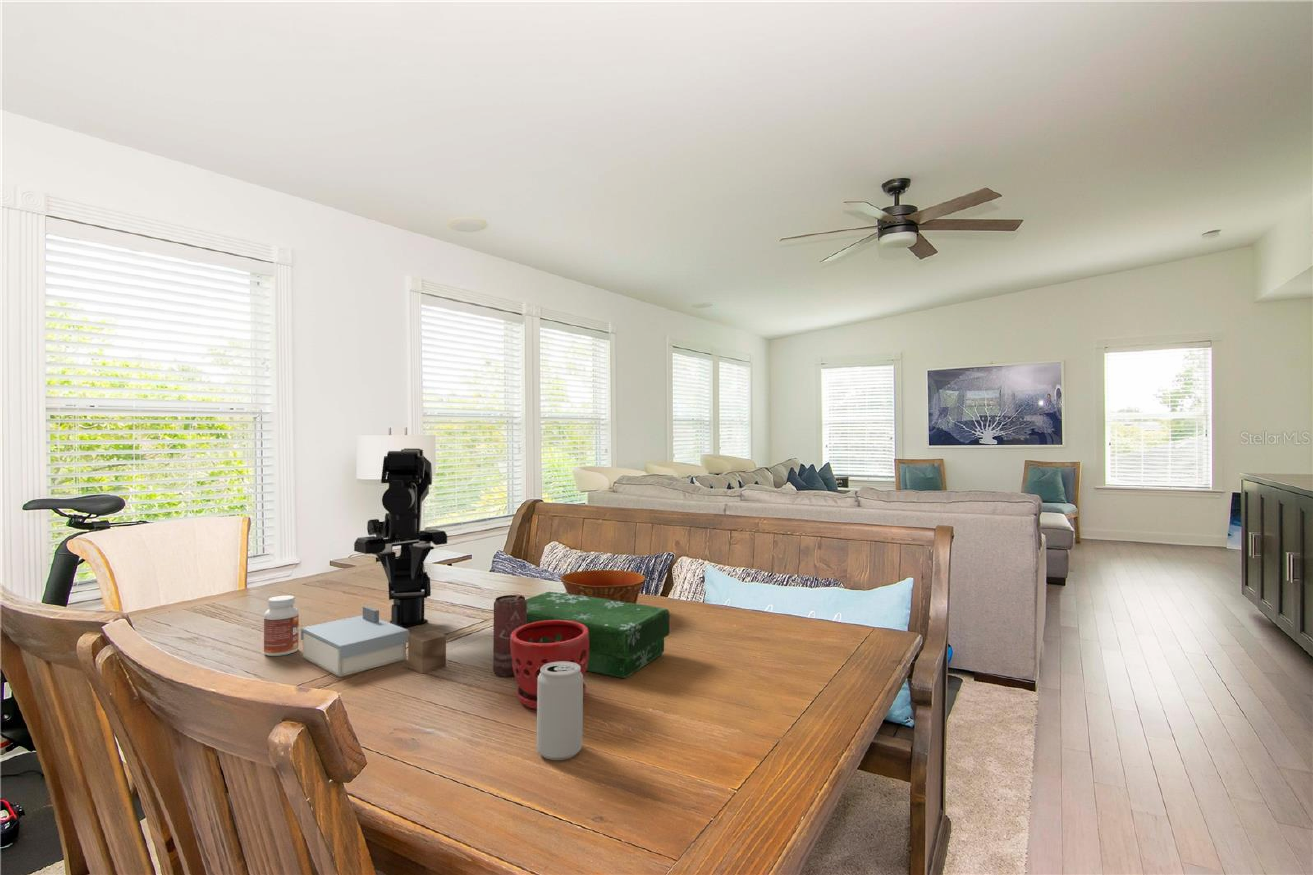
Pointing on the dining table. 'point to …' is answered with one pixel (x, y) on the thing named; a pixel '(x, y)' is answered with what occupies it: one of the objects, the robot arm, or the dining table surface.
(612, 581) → the bowl
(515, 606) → the can
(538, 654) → the plant pot
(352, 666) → the box
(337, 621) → the lid
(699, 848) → the dining table surface
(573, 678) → the beverage can
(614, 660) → the box
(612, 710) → the dining table surface
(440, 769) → the dining table surface
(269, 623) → the pill bottle
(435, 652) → the walnut block
